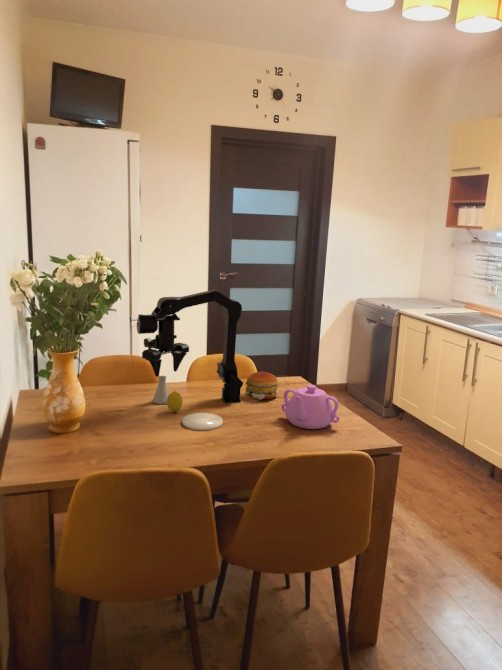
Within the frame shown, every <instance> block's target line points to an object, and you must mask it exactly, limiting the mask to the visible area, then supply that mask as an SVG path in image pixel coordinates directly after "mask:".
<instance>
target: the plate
mask: <svg viewBox="0 0 502 670" xmlns="http://www.w3.org/2000/svg"><path fill="white" fill-rule="evenodd" d="M181 423H182V425H183V427H185V428H187V429H189V430H194V431H201V430H202V431H205V432H206V431H213V430H216V429H219V428H221V427H222V426H223V424H224V420H223V418H222V417H221V416H219V415H218V414H215V413H209V412H195V413H191V414H186V415H185V416H184V417H182V421H181Z"/></svg>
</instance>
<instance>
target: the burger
mask: <svg viewBox="0 0 502 670" xmlns="http://www.w3.org/2000/svg"><path fill="white" fill-rule="evenodd" d="M278 384H279V381H278V378H277V377H276V376H275V375H274V374H272V373H270V372H267V371H256V372H253V373H251V374H249V375H248V377H247V378H246V382H245V385H246V387H245V394H247V396H248V397H250V398H252V399H257V400H272V399H273V398H274V399H275V397H276V395H279V391H278V390H279V389H278V387H279V386H278Z"/></svg>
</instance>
